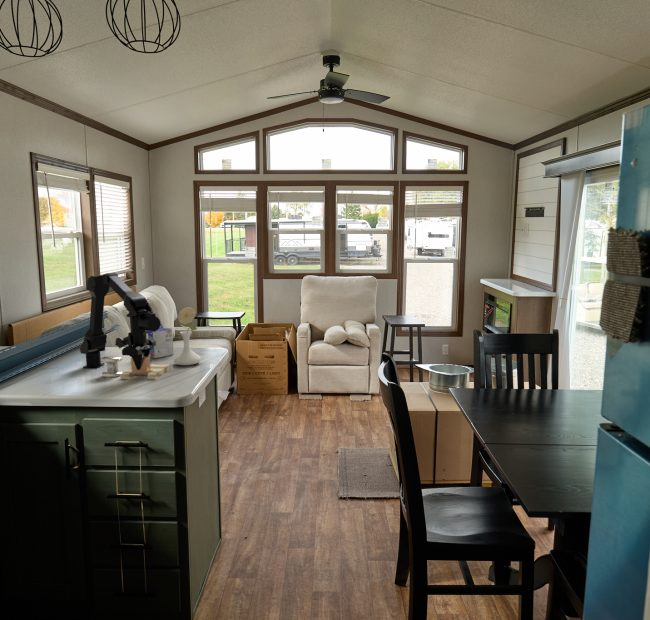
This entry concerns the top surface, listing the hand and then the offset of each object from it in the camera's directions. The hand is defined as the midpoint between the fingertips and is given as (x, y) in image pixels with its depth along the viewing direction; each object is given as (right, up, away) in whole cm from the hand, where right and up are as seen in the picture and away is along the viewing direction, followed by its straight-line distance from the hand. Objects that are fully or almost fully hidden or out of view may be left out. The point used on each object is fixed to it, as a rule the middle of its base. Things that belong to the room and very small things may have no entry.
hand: (140, 368), depth 223 cm
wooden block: (0, -1, 0) cm, 2 cm away
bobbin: (-13, -3, +5) cm, 14 cm away
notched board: (+1, -3, +5) cm, 6 cm away
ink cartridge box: (-3, +2, +38) cm, 38 cm away
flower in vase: (+14, -1, +20) cm, 24 cm away
